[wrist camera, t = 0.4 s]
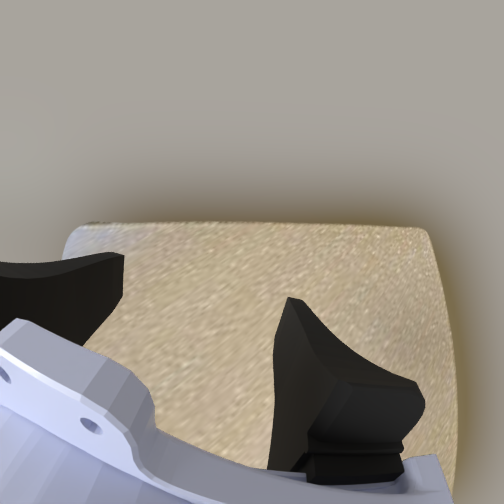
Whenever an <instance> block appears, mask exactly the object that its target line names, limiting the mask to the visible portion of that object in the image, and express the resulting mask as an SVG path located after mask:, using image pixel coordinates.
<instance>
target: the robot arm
mask: <svg viewBox="0 0 504 504" xmlns="http://www.w3.org/2000/svg"><path fill="white" fill-rule="evenodd" d="M123 272H124V255H121V254H118V253H114V252H105V253H98V254H93V255H88V256H83V257H78V258H72V259H67V260H61V261H54V262H45V263H7V262H0V504H454V502H453V499H452V496H451V493H450V490H449V488H448V485H447V482H446V479H445V476H444V474H443V471H442V468H441V466H440V463H439V460H438V458H437V455H436V454H429V455H423V456H415V457H410V458H407V459H405V460H403V461H402V460H401V457H400V454H399V453H402V452H403V450H404V447H403V444H402V440H403V439H404V438H405V436H406V435H407V434H408V433H409V432H410V431H411V430H412V428H413V427H414V426H415V425H416V424H417V422H418V421H419V419H420V418H421V416H422V415H423V412H424V409H425V399H424V397H423V395H422V393H421V391H420V389H419V387H418V385H417V383H416V382H415V381H412V380H409V379H406V378H404V377H401V376H398V375H396V374H393V373H391V372H389V371H387V370H385V369H383V368H381V367H379V366H377V365H375V364H373V363H371V362H370V361H368V360H367V359H365V358H363V357H362V356H360V355H359V354H357V353H356V352H354V351H353V350H352V349H350V348H349V347H348V346H347V345H345V344H344V343H343V342H342V341H340V340H339V339H338V338H337V337H336V336H335V335H334V334H333V333H332V332H331V331H330V330H329V329H328V328H327V327H326V326H325V325H324V324H323V323H322V322H321V321H320V320H319V318H318V317H317V316H316V315H315V314H314V313H313V311H312V310H311V309H310V308H309V307H308V306H307V305H306V303H305V302H304V301H303V300H300V299H295V298H291V297H288V298H287V301H286V304H285V307H284V310H283V313H282V316H281V319H280V322H279V325H278V328H277V331H276V334H275V339H274V349H273V371H274V392H275V406H274V418H273V428H272V437H271V445H270V452H269V459H268V466H267V470H266V469H258V468H251V467H248V466H245V465H242V464H239V463H236V462H233V461H230V460H228V459H225V458H222V457H220V456H217V455H215V454H212V453H210V452H207V451H205V450H202V449H200V448H198V447H195V446H193V445H191V444H189V443H186V442H184V441H182V440H180V439H178V438H176V437H174V436H172V435H170V434H168V433H165V432H164V431H162V430H160V429H158V428H156V424H155V406H154V403H153V400H152V398H151V395H150V392H149V390H148V388H147V387H146V386H145V385H144V384H143V383H142V382H141V381H140V380H139V379H138V378H137V376H136V375H135V374H134V373H133V372H132V371H131V370H129V369H128V368H126V367H124V366H122V365H121V364H119V363H117V362H116V361H114V360H112V359H111V358H108V357H105V356H103V355H101V354H98V353H96V352H93V351H91V350H89V349H86V348H84V347H82V346H83V345H84V344H85V343H86V341H87V340H88V339H89V338H90V337H91V336H92V334H93V333H94V332H95V331H96V330H97V329H98V328H99V327H100V325H101V324H102V323H103V322H104V321H105V320H106V319H107V317H108V316H109V315H110V314H111V313H112V312H113V310H114V309H115V307H116V306H117V304H118V303H119V301H120V299H121V298H122V296H123Z"/></svg>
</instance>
